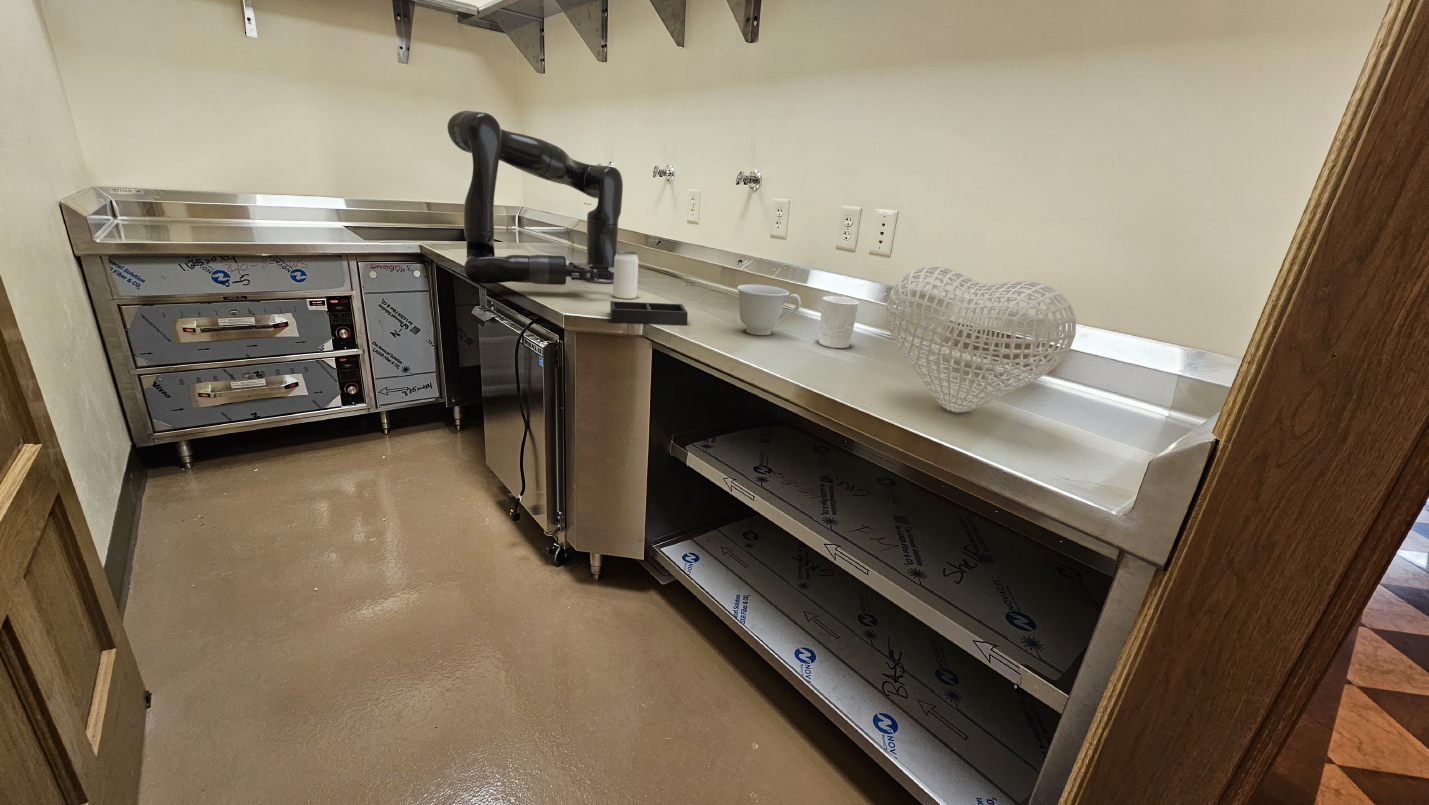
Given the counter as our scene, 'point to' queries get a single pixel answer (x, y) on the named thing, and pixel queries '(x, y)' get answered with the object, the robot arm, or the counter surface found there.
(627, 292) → the can
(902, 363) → the counter surface
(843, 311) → the white cup
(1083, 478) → the counter surface
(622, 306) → the tray
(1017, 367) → the heart
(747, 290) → the teacup
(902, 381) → the counter surface
